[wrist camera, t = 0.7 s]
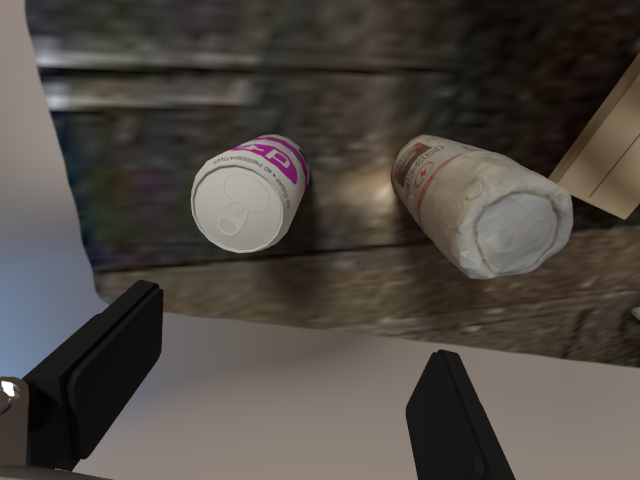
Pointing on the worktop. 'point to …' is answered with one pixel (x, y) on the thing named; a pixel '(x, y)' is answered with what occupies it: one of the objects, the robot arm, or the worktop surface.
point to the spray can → (482, 206)
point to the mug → (636, 312)
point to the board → (608, 151)
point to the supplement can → (250, 193)
